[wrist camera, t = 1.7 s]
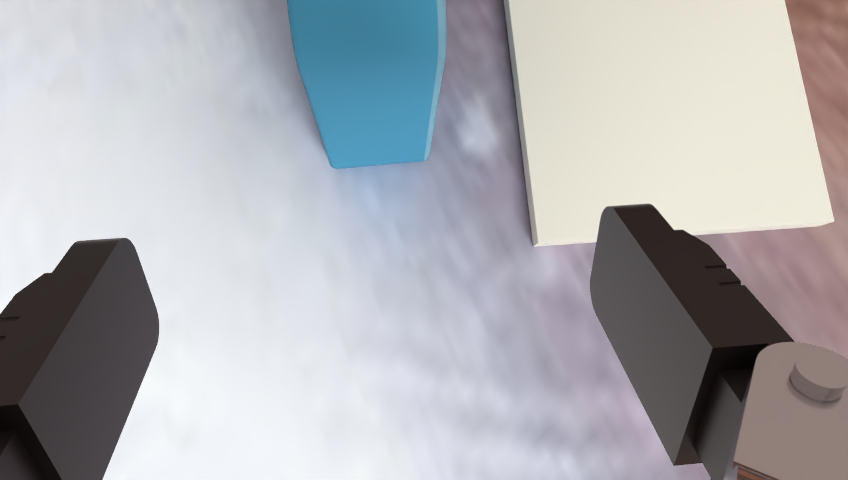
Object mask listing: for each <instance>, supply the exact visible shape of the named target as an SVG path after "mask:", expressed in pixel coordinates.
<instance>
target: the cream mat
mask: <svg viewBox="0 0 848 480" xmlns="http://www.w3.org/2000/svg"><path fill="white" fill-rule="evenodd" d="M504 8H505V16H506V24H507V33H508V41H509V49H510V58H511V66H512V74H513V82H514V91H515V99H516V107H517V116H518V124H519V132H520V141H521V149H522V157H523V166H524V174H525V182H526V191H527V199H528V207H529V215H530V224H531V232H532V240H533V247H537V246H551V245H565V244H579V243H593V242H597V236H598V229H599V223H600V218H601V214H602V212H603V210H604V209H605V208H606V207H608V206H620V205H634V204H652V205H653V206H654V207H655V208H656V209H657V210H658V211H659V212H660V214H661V215H662V216H663V217H664V219H665V220H666V221H667V222H668V223H669V225H670V226H671V227H672V228H673V229H674V230H684V231H686V232H688V233H689V234H691V235H704V234H718V233H732V232H745V231H759V230H773V229H787V228H801V227H815V226H821V225H825V224H828V223H831V222H834V218H833V213H832V209H831V204H830V200H829V196H828V191H827V187H826V182H825V178H824V173H823V169H822V165H821V160H820V156H819V151H818V147H817V142H816V138H815V133H814V129H813V125H812V120H811V116H810V111H809V107H808V102H807V98H806V94H805V89H804V85H803V80H802V76H801V71H800V67H799V62H798V58H797V54H796V49H795V45H794V40H793V36H792V31H791V27H790V23H789V18H788V14H787V9H786V5H785V0H504Z"/></svg>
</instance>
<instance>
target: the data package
mask: <svg viewBox="0 0 848 480" xmlns="http://www.w3.org/2000/svg"><path fill="white" fill-rule="evenodd" d="M287 3H288V13H289V21H290V28H291V35H292V41H293V47H294V52H295V57H296V61H297V65H298V68H299V71H300V74H301V77H302V80H303V83H304V86H305V90H306V93H307V96H308V99H309V102H310V105H311V108H312V111H313V114H314V117H315V120H316V123H317V126H318V129H319V132H320V135H321V138H322V141H323V144H324V147H325V150H326V153H327V157H328V160H329V163H330V165H331V166H332V167H333V168H335V169H340V168H351V167H362V166H374V165H385V164H396V163H407V162H419V161H426V160H427V159H428V158H429V155H430V150H431V144H432V138H433V131H434V125H435V119H436V113H437V107H438V101H439V95H440V89H441V83H442V76H443V70H444V64H445V58H446V48H447V17H446V1H445V0H287Z"/></svg>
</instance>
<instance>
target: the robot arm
mask: <svg viewBox="0 0 848 480" xmlns="http://www.w3.org/2000/svg"><path fill="white" fill-rule="evenodd" d="M590 292H591V299H592V304H593V308H594V310H595V313H596V315H597V317H598V319H599V321H600V323H601V325H602V327H603V329H604V331H605V333H606V335H607V336H608V338H609V340H610V342H611V344H612V346H613V348H614V350H615V352H616V354H617V356H618V358H619V360H620V362H621V364H622V366H623V368H624V370H625V372H626V374H627V375H628V377H629V379H630V381H631V383H632V385H633V387H634V389H635V391H636V393H637V395H638V397H639V399H640V401H641V403H642V405H643V407H644V409H645V411H646V413H647V415H648V416H649V418H650V420H651V422H652V424H653V426H654V428H655V430H656V432H657V434H658V436H659V438H660V440H661V442H662V444H663V446H664V448H665V450H666V452H667V454H668V455H669V457H670V459H671V461H672V463H673V465H674V466H675V465H685V464H696V463H703V465H704V466H705V468H706V470H707V472H708V473H709V475H710V479H709V480H848V359H847V358H845V357H843V356H842V355H840V354H837V353H835V352H833V351H831V350H828V349H825V348H822V347H819V346H815V345H811V344H806V343H800V342H794V340H793V339H792V338H791V337H790V336H789V335H788V334H787V333H786V331H785V330H784V329H783V328H782V327H781V326H780V325H779V324H778V322H777V321H776V320H775V319H774V318H773V317H772V316H771V314H770V313H769V312H768V311H767V310H766V309H765V308H764V307H763V305H762V304H761V303H760V302H759V301H758V300H757V299H756V298H755V296H754V295H753V294H752V293H751V292H750V291H749V290H748V289H747V287H746V286H745V285H741V281H740V280H739V278H738V277H737V276H736V275H735V274H734V273H733V272H732V271H731V269H727V268H726V264H725V263H724V262H723V260H722V259H721V258H720V257H719V256H718V255H717V254H716V253H715V251H714V250H713V249H712V248H711V247H710V246H709V245H708V244H706V243H704V242H703V241H701V240H699V239H698V238H696V237H694V236H693V235H691V234H689V233H688V232H686V231H684V230H674V229H673V228H672V227H671V226H670V225H669V223H668V222H667V221H666V220H665V219H664V217H663V216H662V215H661V214H660V212H659V211H658V210H657V209H656V208H655V207H654V206H653V205H652V204H634V205H620V206H608V207H606V208H605V209H604V210H603V212H602V214H601V218H600V223H599V229H598V236H597V242H596V248H595V254H594V260H593V266H592V272H591V279H590ZM158 337H159V319H158V313H157V309H156V306H155V303H154V300H153V297H152V295H151V292H150V289H149V286H148V283H147V280H146V277H145V275H144V272H143V269H142V266H141V263H140V260H139V257H138V255H137V252H136V249H135V247H134V245H133V244H132V242H131V241H130V240H129V239H127V238H115V239H100V240H86V241H77V242H75V243H74V244H73V245H72V246H71V247H70V249H69V250H68V252H67V253H66V254H65V256H64V257H63V259H62V260H61V261H60V263H59V264H58V265H57V267H56V268H55V270H54V271H53V272H52V273H44V274H43V275H42V276H40V277H39V278H38V279H36V280H35V281H33V282H32V283H31V284H29V285H28V286H27V287H25V288H24V289H22V290H21V291H20V292H18V293H17V294H16V295H15V296H14V297H13V299H12V300H11V301H10V302H9V304H8V305H7V306H6V308H5V309H4V310H3V311H2V313H1V314H0V480H102V479H103V477H104V474H105V472H106V469H107V467H108V464H109V462H110V459H111V457H112V454H113V452H114V449H115V447H116V445H117V442H118V440H119V437H120V435H121V432H122V430H123V427H124V425H125V422H126V420H127V417H128V415H129V413H130V410H131V408H132V405H133V403H134V400H135V398H136V395H137V393H138V390H139V388H140V386H141V383H142V381H143V378H144V376H145V373H146V371H147V368H148V366H149V363H150V361H151V358H152V356H153V354H154V351H155V349H156V346H157V342H158Z"/></svg>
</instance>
